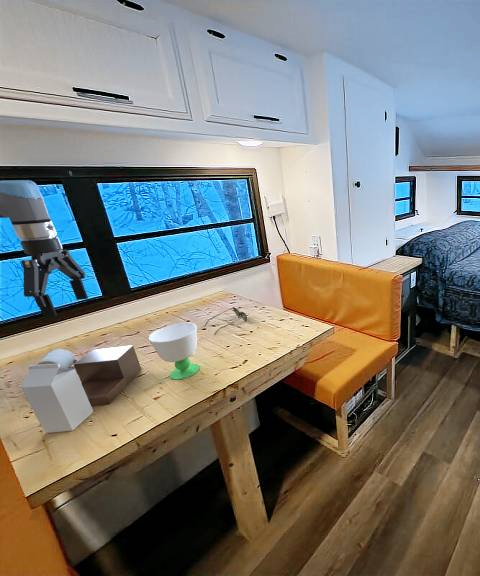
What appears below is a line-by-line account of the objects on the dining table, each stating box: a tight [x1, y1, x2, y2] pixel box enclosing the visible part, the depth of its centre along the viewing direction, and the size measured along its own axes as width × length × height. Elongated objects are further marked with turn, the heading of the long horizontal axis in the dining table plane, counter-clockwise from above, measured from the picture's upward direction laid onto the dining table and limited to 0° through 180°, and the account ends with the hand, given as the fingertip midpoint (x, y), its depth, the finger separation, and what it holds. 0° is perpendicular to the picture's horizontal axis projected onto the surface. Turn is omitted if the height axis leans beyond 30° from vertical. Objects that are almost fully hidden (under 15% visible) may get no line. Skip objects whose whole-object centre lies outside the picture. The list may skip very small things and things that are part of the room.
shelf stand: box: [73, 344, 142, 408], centre depth 97 cm, size 12×18×10 cm, turn 11°
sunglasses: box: [204, 306, 248, 335], centre depth 140 cm, size 14×15×5 cm
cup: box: [148, 322, 201, 381], centre depth 104 cm, size 14×14×16 cm
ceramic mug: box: [36, 348, 80, 373], centre depth 107 cm, size 11×8×8 cm
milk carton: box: [20, 364, 94, 434], centre depth 82 cm, size 7×7×19 cm
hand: (67, 307), depth 93 cm, fingers open, 13 cm apart
